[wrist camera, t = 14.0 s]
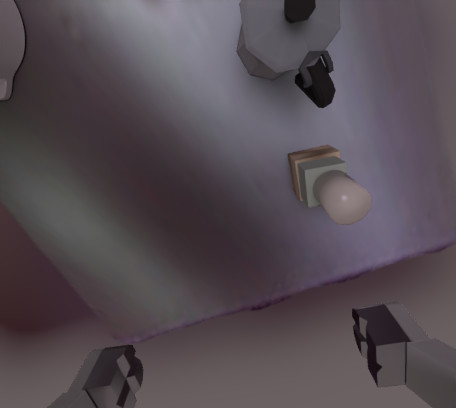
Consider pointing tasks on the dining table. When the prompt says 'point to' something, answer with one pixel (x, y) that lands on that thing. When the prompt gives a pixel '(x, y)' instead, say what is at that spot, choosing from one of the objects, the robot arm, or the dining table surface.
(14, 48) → the robot arm
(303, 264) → the dining table surface
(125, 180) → the dining table surface
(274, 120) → the dining table surface
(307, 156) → the tower base
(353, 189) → the grey rounded cylinder
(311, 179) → the tower top
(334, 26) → the coffee maker
